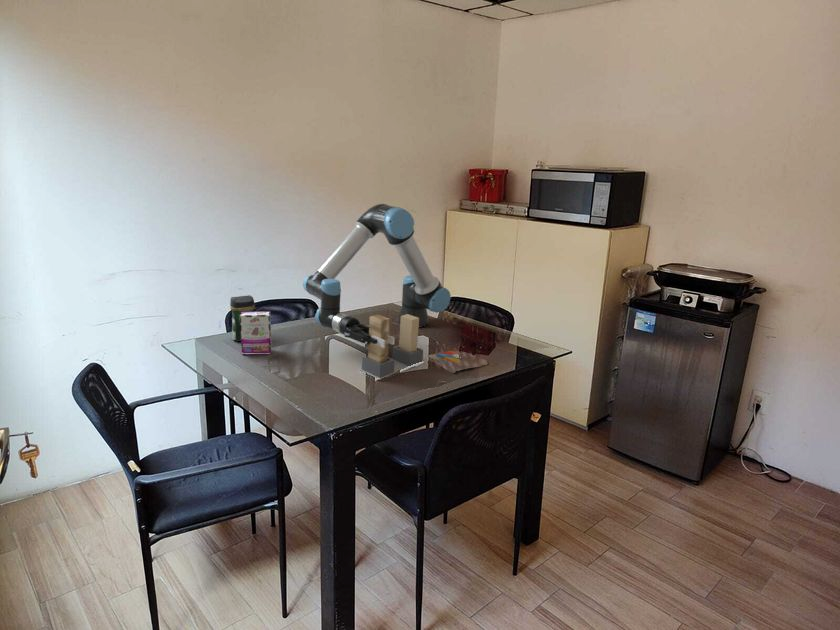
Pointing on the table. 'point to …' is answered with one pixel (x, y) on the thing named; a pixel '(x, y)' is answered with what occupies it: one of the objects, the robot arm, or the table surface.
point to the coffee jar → (237, 307)
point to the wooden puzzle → (446, 356)
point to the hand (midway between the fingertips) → (389, 342)
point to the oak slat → (380, 330)
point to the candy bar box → (255, 332)
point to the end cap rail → (398, 351)
